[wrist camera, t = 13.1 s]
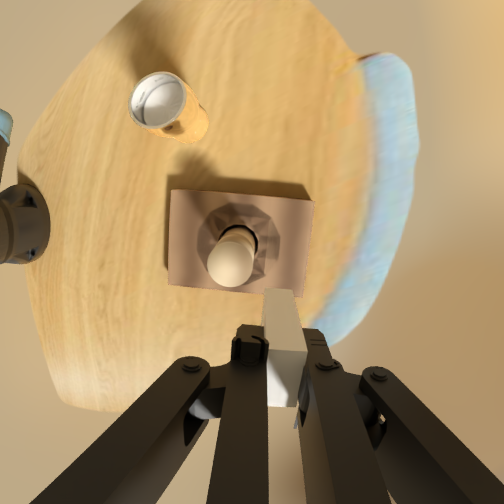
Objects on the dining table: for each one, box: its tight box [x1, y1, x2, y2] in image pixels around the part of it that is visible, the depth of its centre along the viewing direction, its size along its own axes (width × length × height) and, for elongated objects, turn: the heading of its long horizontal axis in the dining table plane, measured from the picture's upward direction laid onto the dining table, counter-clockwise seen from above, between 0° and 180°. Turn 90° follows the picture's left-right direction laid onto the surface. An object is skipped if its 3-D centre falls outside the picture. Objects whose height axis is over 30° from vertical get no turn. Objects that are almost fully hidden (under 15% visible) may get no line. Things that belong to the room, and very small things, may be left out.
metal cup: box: [128, 71, 209, 143], centre depth 35 cm, size 7×7×15 cm
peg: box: [207, 226, 255, 287], centre depth 39 cm, size 5×5×14 cm
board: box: [168, 189, 315, 298], centre depth 45 cm, size 20×14×3 cm
